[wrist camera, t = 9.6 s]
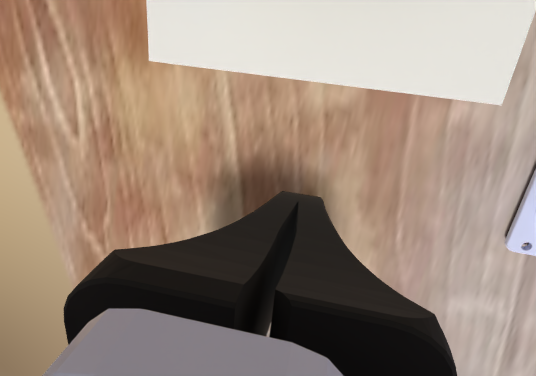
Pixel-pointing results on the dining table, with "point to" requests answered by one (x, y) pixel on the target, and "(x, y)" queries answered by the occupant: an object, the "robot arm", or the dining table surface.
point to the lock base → (351, 42)
